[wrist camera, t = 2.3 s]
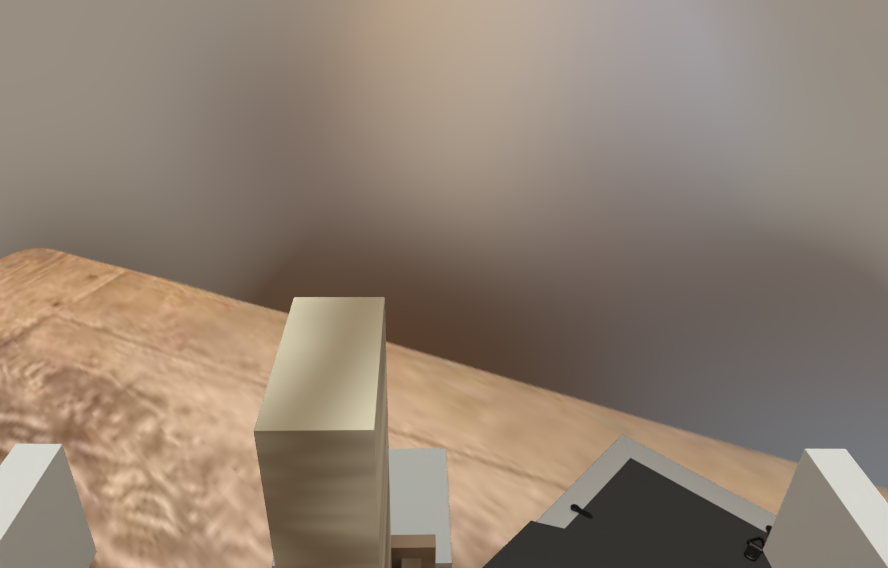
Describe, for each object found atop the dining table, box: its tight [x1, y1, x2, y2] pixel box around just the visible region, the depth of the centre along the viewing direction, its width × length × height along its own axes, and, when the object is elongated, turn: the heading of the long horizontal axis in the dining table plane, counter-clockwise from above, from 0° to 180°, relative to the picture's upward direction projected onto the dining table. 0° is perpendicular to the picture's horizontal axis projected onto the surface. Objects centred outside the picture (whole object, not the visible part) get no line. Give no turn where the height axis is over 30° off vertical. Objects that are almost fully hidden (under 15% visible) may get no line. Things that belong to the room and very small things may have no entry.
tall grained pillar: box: [254, 297, 392, 568], centre depth 27 cm, size 4×8×18 cm, turn 2°
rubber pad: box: [272, 448, 452, 568], centre depth 42 cm, size 10×9×1 cm
